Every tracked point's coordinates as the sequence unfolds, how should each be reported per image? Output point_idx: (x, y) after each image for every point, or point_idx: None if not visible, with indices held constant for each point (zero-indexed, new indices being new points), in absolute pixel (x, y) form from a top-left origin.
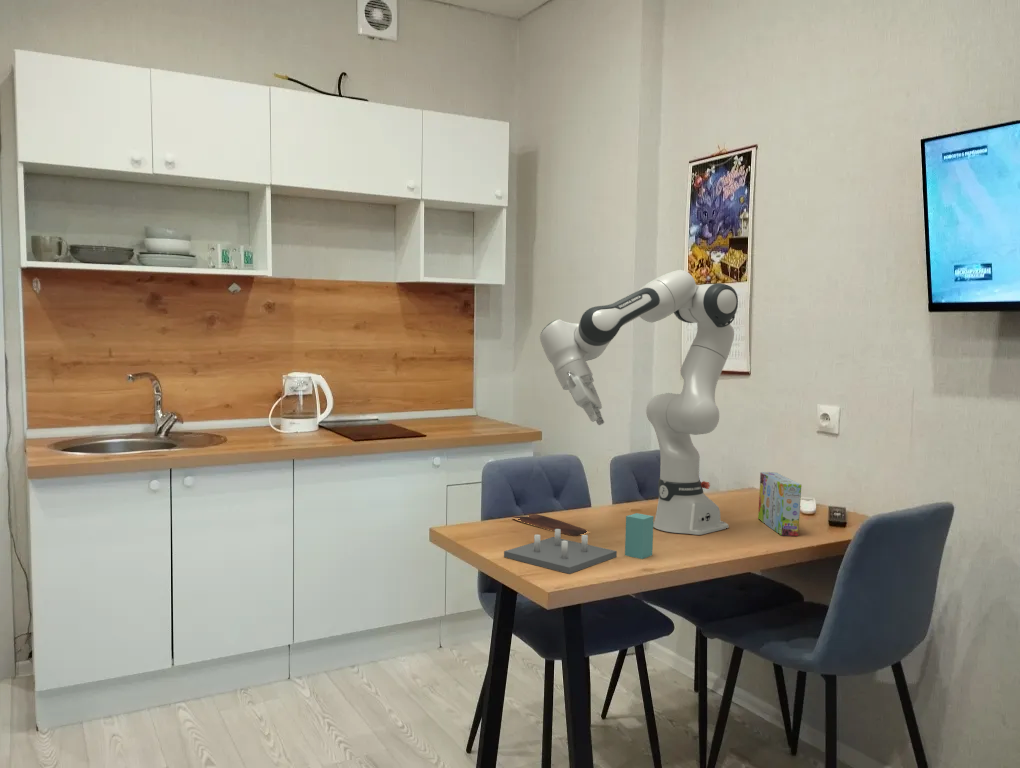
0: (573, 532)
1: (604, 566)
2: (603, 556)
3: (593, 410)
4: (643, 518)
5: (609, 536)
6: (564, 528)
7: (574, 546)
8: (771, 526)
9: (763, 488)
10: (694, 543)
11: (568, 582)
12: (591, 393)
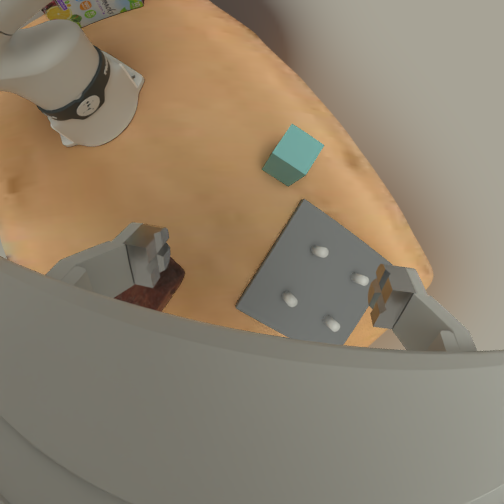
0: (167, 276)
1: (351, 218)
2: (333, 219)
3: (438, 305)
4: (316, 143)
5: (170, 212)
6: (148, 293)
7: (291, 267)
8: (108, 15)
9: (60, 6)
10: (192, 84)
11: (412, 261)
12: (176, 473)
